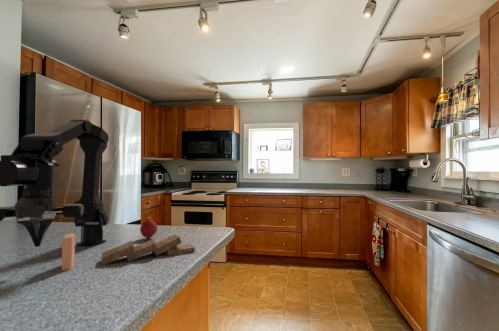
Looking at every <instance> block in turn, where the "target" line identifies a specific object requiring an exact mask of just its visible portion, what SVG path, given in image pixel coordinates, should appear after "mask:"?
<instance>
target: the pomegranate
mask: <svg viewBox="0 0 499 331" xmlns="http://www.w3.org/2000/svg"><path fill="white" fill-rule="evenodd" d="M139 230H140V234H141V235H142V236H143V237H144V238H145V239H148V240H151V239H152V237H153V236H154V235H155V234H156V233H157V231H158V226H157V223H156V222H155V221H154V220H153V219H152V217H151V216H148V217H147V219H146V220H144V221H143V222H142V223H141V225H140V228H139Z"/></svg>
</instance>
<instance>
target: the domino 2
mask: <svg viewBox="0 0 499 331" xmlns="http://www.w3.org/2000/svg"><path fill="white" fill-rule="evenodd" d="M134 247H135V252H133V253H131V254H129V255H126V256H125V257H126V260H127V262H128V263H130V262H132V261H134V260H137V259H138V258H141V257H143V256H145V255H148V254H150V253H152V251H155V250H157V247H156V242H155V240H154V239H153V238H151V239H148V240H147V241H145V242H142V243H139V244H138V245H134Z"/></svg>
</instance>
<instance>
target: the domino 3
mask: <svg viewBox="0 0 499 331" xmlns="http://www.w3.org/2000/svg"><path fill="white" fill-rule="evenodd" d="M181 240H182V239H181V237H180V236H178V235H176V234H172V235H170V236H168V237H166V238H164V239H162V240H160V241H158V242H155V244H156V247H157V250H155V251H152V252H151V254H153V255H155V256H156V257H157V256H159V255H162V254H163V253H166V252H165V251H167V250H169V249H171V248H173V247H175V246H177V245H181V244H182V241H181Z"/></svg>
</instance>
